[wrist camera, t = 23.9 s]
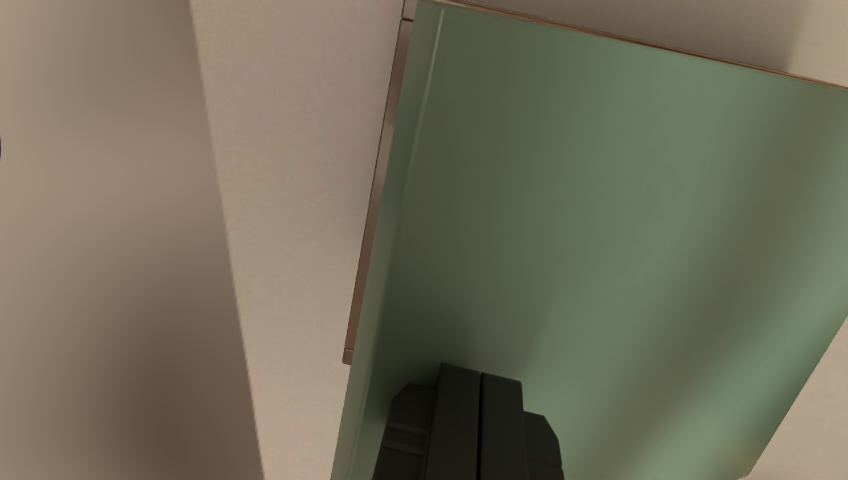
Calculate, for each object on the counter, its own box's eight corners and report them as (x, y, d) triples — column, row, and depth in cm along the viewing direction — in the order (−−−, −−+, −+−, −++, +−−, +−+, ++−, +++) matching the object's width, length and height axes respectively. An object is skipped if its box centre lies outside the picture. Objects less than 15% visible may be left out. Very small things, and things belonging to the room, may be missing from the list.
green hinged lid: (306, 604, 13) (315, 638, 12) (415, -4, 7) (442, 2, 7) (730, 459, 21) (748, 476, 20) (938, 108, 15) (973, 116, 15)
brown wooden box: (382, 265, 29) (341, 364, 21) (434, -6, 24) (405, -11, 16) (667, 332, 29) (734, 458, 21) (788, 73, 23) (943, 109, 15)
